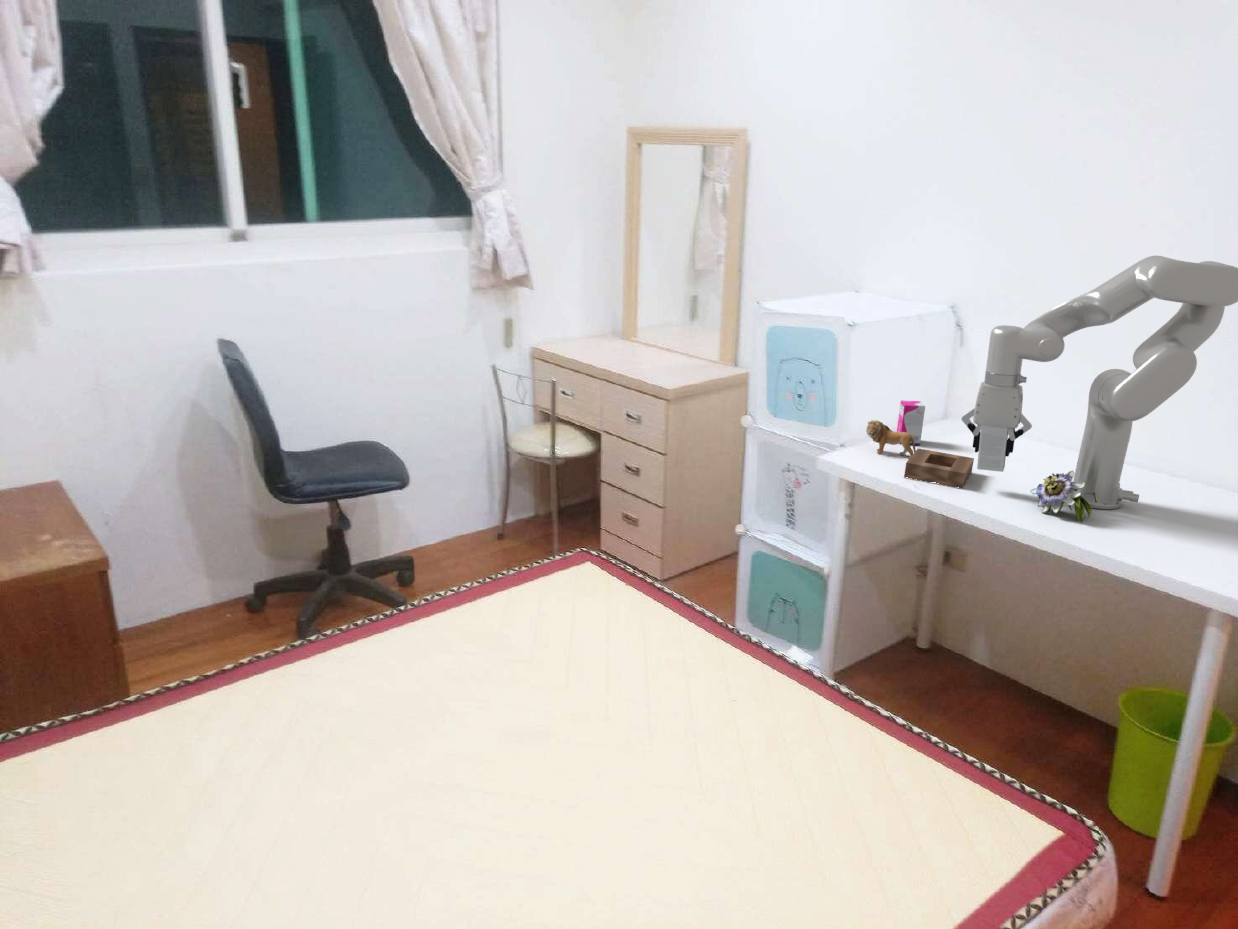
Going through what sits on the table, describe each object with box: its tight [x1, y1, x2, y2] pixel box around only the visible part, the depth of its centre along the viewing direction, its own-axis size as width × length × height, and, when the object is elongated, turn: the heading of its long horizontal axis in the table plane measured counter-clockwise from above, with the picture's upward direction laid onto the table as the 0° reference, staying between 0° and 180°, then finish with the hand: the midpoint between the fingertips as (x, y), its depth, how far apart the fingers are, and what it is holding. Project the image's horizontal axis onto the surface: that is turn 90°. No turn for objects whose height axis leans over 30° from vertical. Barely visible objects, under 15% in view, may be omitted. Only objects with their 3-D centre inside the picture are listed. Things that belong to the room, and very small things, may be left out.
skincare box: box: [976, 425, 1009, 473], centre depth 215 cm, size 6×4×12 cm
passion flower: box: [1029, 470, 1098, 523], centre depth 205 cm, size 11×11×12 cm
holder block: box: [903, 448, 975, 489], centre depth 227 cm, size 14×14×4 cm
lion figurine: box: [865, 419, 917, 460], centre depth 241 cm, size 15×5×9 cm, turn 72°
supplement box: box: [896, 399, 926, 446], centre depth 252 cm, size 6×6×12 cm
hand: (992, 452), depth 215 cm, fingers closed on skincare box, 6 cm apart
